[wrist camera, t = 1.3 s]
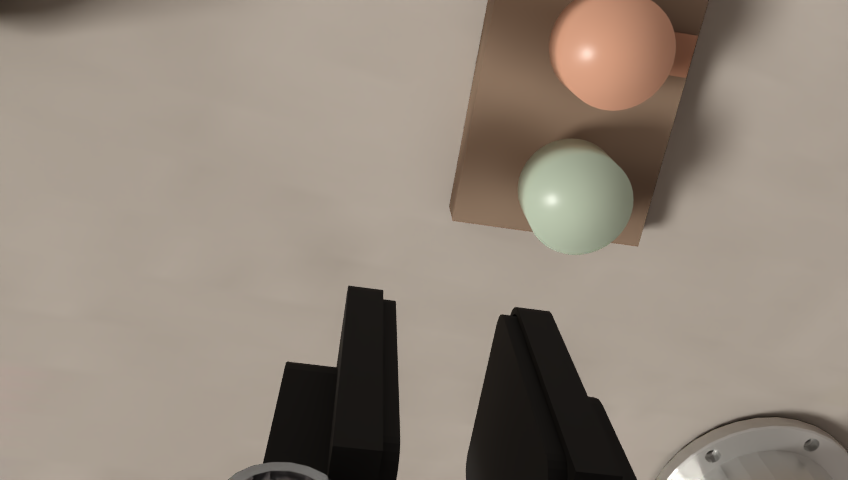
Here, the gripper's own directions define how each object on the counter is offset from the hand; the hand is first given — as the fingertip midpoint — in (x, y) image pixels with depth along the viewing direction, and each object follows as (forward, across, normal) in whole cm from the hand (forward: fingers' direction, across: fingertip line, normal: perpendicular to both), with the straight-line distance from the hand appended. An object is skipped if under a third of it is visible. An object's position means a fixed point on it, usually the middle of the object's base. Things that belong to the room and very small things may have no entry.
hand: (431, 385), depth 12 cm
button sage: (+22, -8, +3) cm, 23 cm away
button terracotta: (+22, -8, -4) cm, 23 cm away
